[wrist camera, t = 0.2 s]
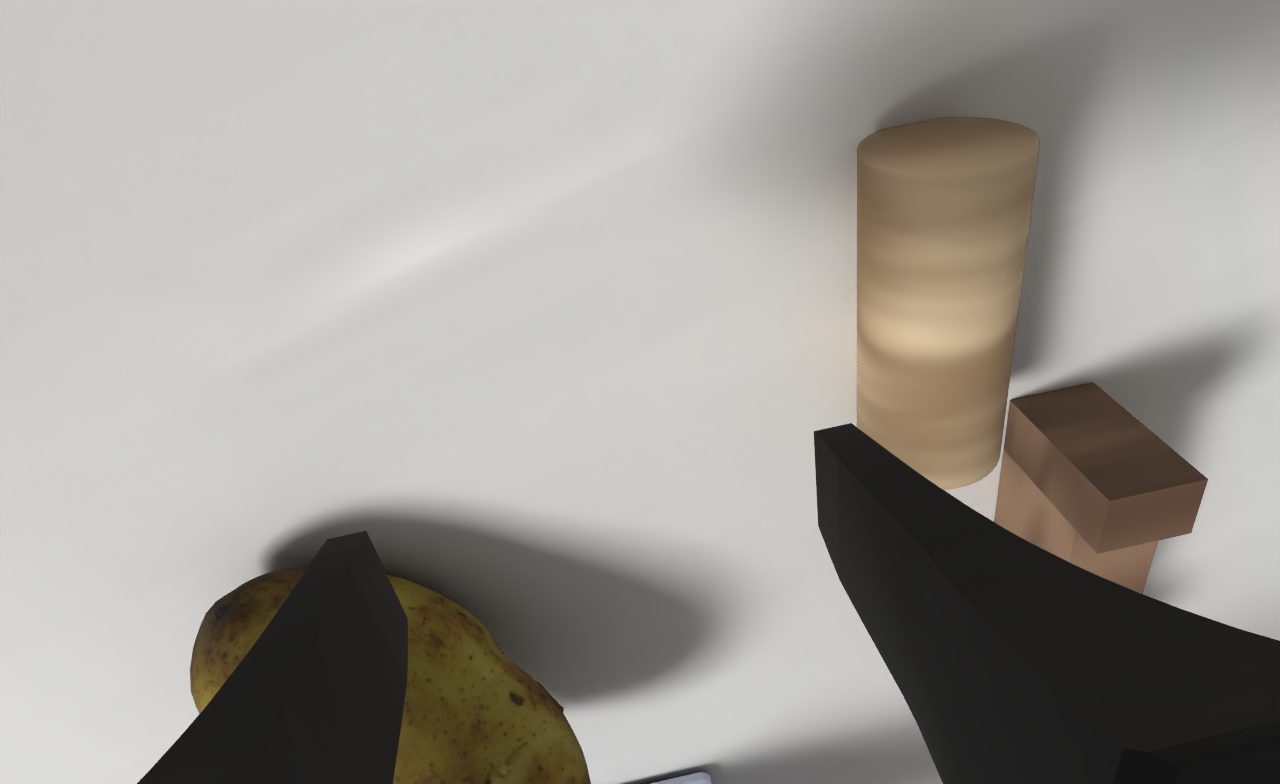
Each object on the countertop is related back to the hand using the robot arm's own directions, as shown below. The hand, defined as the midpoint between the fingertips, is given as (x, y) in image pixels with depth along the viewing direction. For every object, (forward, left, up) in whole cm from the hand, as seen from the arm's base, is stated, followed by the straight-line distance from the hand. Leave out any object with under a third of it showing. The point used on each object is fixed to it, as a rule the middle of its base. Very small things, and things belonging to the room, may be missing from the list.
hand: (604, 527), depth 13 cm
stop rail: (-14, -14, -10) cm, 22 cm away
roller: (-2, -10, -10) cm, 14 cm away
